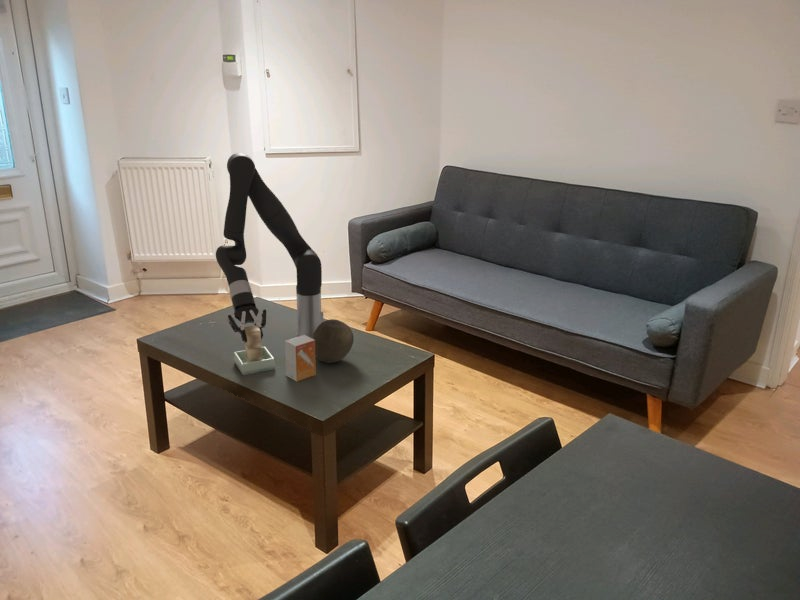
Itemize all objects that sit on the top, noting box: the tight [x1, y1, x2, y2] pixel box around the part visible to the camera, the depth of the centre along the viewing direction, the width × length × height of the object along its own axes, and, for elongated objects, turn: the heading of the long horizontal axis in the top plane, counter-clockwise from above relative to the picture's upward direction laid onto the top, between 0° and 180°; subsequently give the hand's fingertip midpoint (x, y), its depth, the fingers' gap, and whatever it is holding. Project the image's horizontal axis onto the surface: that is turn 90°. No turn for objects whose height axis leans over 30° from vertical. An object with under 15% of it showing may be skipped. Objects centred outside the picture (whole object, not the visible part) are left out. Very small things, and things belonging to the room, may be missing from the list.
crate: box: [233, 346, 276, 376], centre depth 231 cm, size 11×11×4 cm
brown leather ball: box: [312, 319, 355, 364], centre depth 234 cm, size 14×14×15 cm
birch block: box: [244, 325, 262, 363], centre depth 229 cm, size 4×4×12 cm
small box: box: [284, 335, 317, 383], centre depth 224 cm, size 8×6×13 cm
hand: (253, 340), depth 228 cm, fingers closed on birch block, 4 cm apart
